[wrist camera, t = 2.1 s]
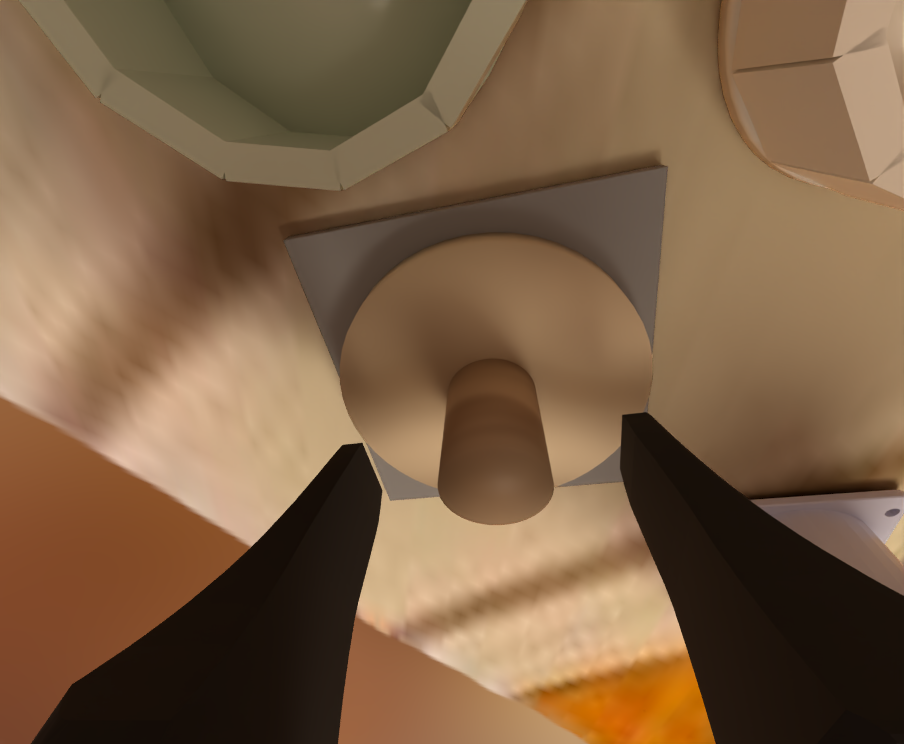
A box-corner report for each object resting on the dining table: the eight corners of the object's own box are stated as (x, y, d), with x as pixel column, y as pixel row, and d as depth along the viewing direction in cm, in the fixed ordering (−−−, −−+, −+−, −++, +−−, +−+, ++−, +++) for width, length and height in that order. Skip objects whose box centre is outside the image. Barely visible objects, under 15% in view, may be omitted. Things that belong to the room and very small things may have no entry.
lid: (635, 466, 17) (686, 587, 13) (392, 488, 18) (366, 601, 14) (653, 200, 11) (755, 259, 7) (301, 265, 13) (216, 344, 9)
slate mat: (638, 473, 17) (641, 480, 17) (391, 493, 19) (390, 500, 19) (662, 165, 11) (667, 166, 11) (288, 236, 13) (283, 240, 12)
